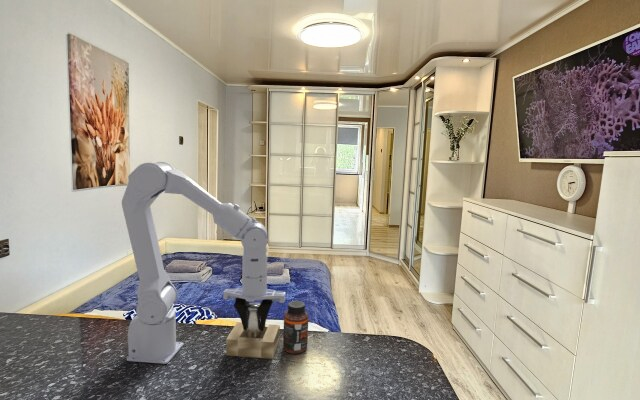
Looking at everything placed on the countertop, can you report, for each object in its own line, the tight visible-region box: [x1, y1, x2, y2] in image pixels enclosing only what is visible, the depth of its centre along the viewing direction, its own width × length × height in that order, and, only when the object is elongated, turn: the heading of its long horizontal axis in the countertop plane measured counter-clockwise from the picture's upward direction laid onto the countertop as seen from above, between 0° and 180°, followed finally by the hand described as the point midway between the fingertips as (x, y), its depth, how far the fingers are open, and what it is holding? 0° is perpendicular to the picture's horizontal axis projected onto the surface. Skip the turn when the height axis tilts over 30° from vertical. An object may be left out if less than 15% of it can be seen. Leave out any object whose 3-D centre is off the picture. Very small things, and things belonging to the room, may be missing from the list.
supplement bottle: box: [282, 300, 309, 355], centre depth 81 cm, size 6×6×11 cm
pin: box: [246, 302, 261, 338], centre depth 80 cm, size 4×4×9 cm
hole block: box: [225, 322, 281, 360], centre depth 81 cm, size 11×8×4 cm
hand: (254, 328), depth 80 cm, fingers closed on pin, 3 cm apart
